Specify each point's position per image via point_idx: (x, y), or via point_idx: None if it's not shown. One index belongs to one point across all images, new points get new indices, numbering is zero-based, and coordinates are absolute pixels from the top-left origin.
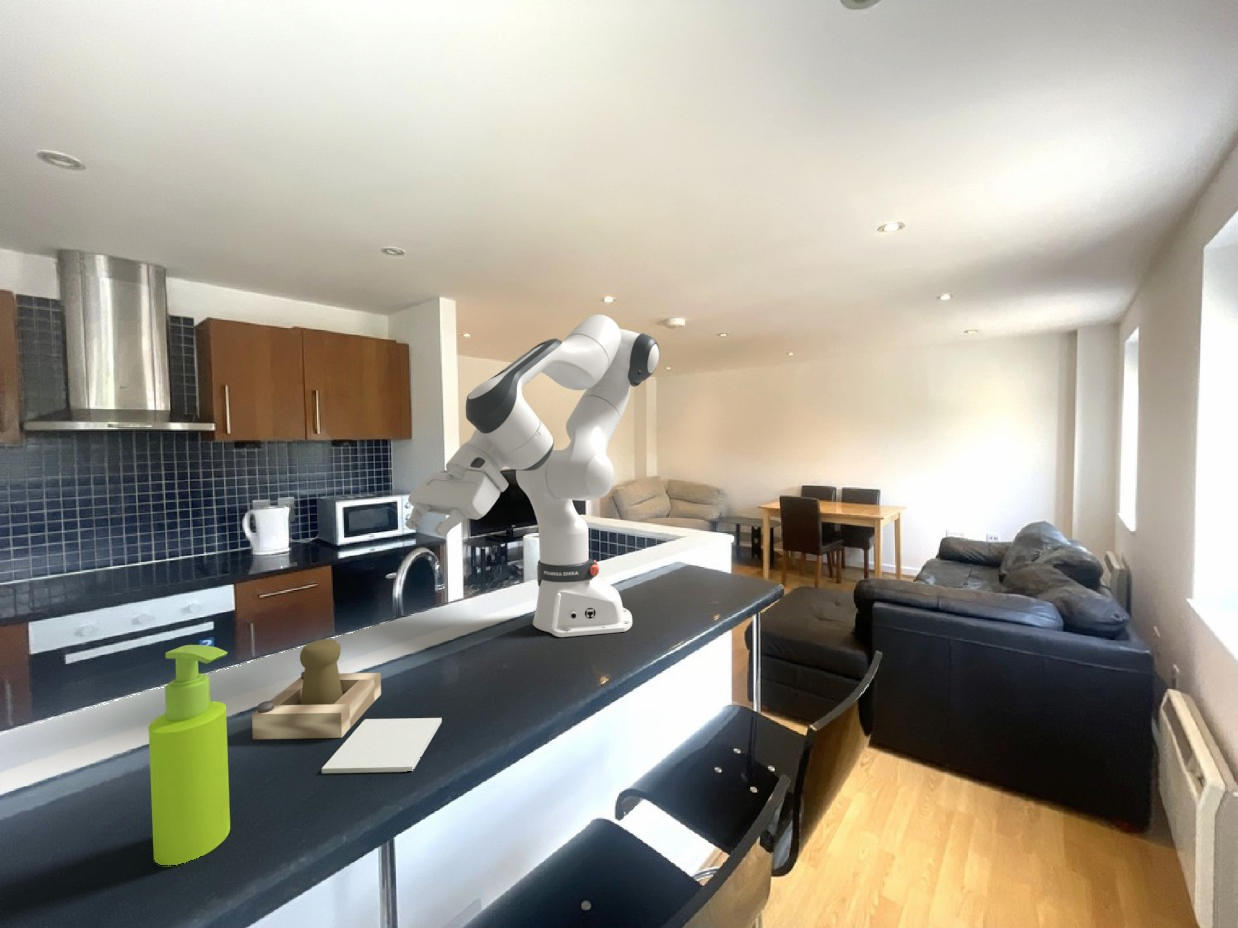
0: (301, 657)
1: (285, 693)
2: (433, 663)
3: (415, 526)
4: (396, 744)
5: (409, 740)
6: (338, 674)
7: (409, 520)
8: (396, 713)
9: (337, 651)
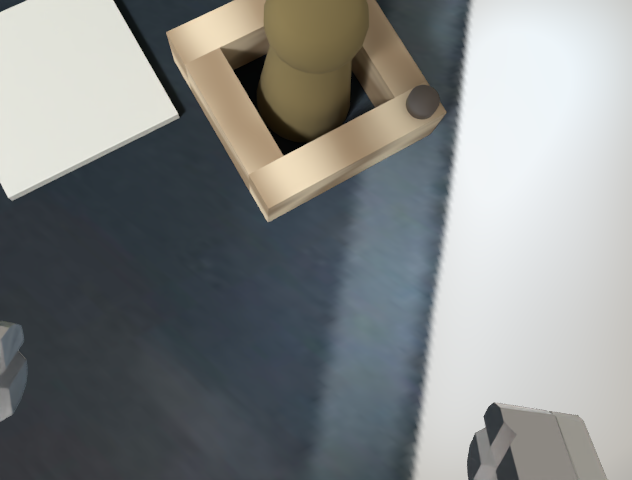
0: None
1: (378, 32)
2: (294, 426)
3: (477, 468)
4: (22, 79)
5: (7, 101)
6: (284, 82)
7: (554, 443)
8: (149, 178)
9: (269, 33)
